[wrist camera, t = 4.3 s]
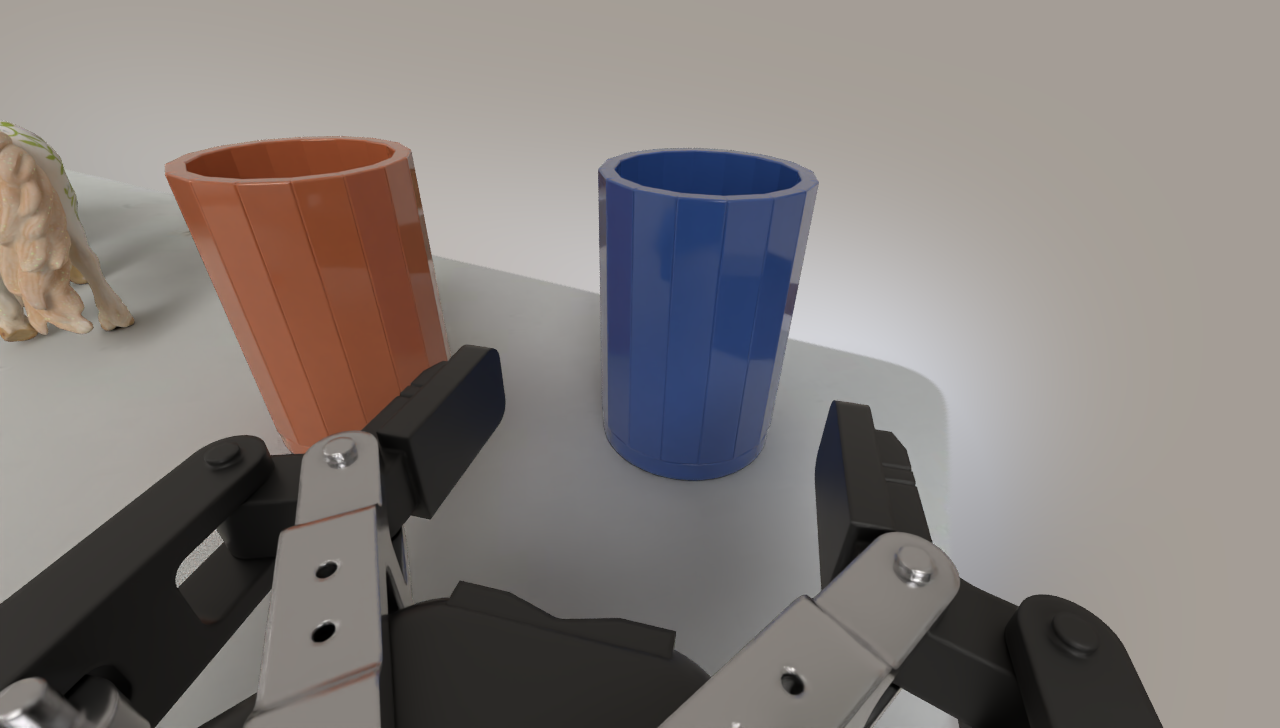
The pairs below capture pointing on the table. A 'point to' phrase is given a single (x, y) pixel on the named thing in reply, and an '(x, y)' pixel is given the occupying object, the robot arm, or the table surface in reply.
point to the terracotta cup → (318, 272)
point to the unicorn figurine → (44, 245)
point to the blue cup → (697, 302)
